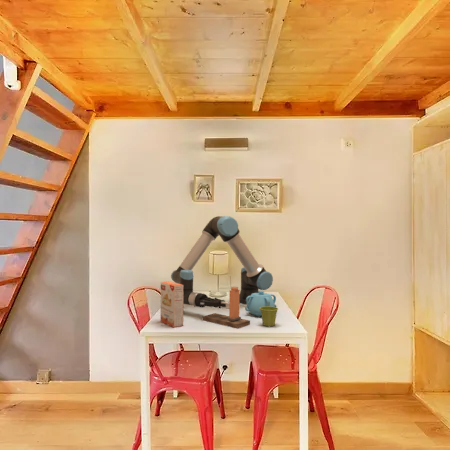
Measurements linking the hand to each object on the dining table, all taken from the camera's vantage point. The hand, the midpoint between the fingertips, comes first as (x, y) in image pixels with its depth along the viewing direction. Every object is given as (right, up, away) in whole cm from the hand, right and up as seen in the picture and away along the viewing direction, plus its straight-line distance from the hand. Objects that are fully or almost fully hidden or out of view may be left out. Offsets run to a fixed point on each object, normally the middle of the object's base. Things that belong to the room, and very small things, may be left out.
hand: (231, 306), depth 195 cm
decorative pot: (+17, -9, +20) cm, 28 cm away
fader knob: (+1, -7, -1) cm, 7 cm away
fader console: (-3, -9, +2) cm, 10 cm away
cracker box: (-31, -9, -2) cm, 32 cm away
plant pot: (+19, -9, -2) cm, 21 cm away
